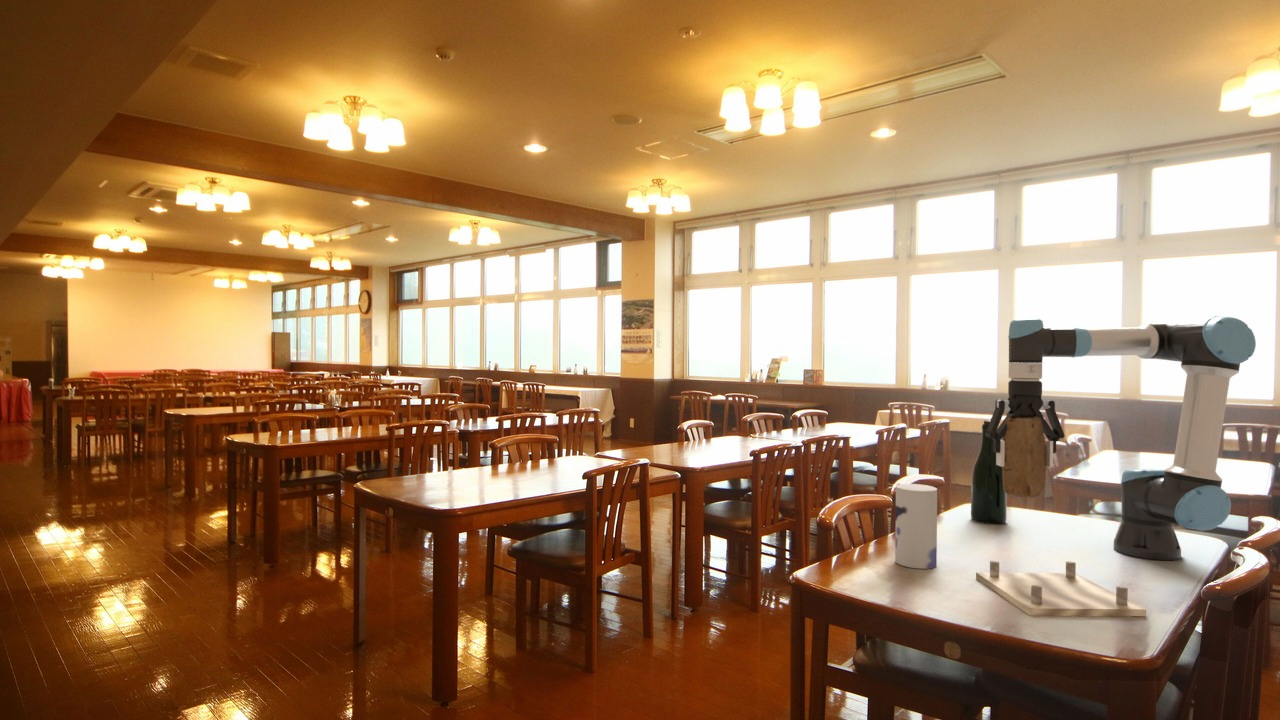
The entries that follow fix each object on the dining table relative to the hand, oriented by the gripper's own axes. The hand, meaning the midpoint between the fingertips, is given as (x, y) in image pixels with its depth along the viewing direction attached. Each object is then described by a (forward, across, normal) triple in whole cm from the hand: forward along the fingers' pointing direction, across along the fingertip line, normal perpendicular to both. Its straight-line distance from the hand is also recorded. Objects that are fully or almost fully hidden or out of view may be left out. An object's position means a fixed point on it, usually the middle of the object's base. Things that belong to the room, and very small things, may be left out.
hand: (1024, 466), depth 178 cm
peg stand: (+26, -4, -20) cm, 33 cm away
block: (+7, 0, 0) cm, 7 cm away
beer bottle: (+26, +16, +52) cm, 60 cm away
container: (+26, -26, +4) cm, 37 cm away
